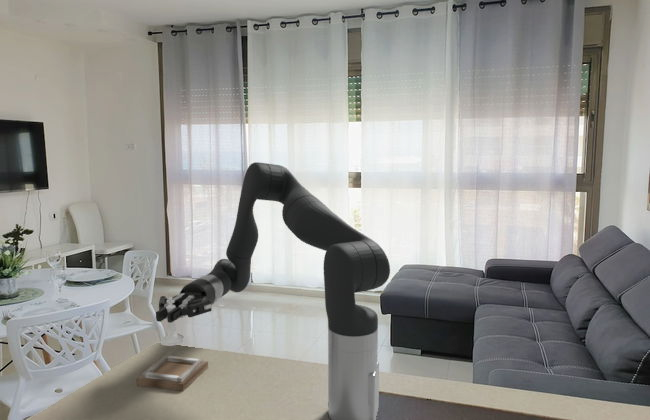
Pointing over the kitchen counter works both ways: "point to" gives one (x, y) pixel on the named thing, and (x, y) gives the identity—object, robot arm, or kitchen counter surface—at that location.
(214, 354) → the kitchen counter surface
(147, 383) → the walnut board
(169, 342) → the chess piece
